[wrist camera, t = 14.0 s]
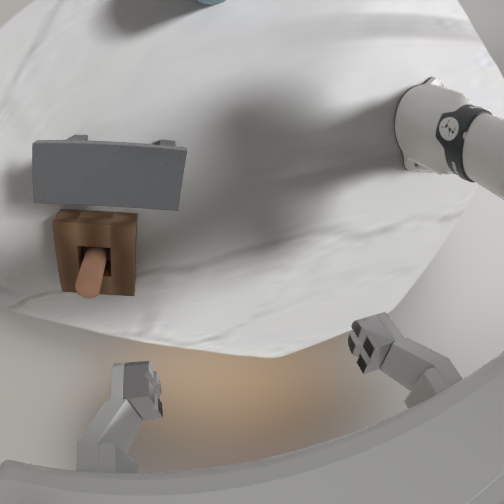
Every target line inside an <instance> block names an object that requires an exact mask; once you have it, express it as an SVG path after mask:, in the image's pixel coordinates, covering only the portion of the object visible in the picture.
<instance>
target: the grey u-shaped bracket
mask: <svg viewBox="0 0 504 504" xmlns="http://www.w3.org/2000/svg"><path fill="white" fill-rule="evenodd" d="M87 139H88V135H74V136H72V137H71V138H69V139H68V140H37V141H36V142H34V143H33V147H32V164H33V191H34V203H54V204H77V205H97V206H115V207H131V208H146V209H160V210H174V211H178V206H179V199H180V192H181V185H182V178H183V172H184V166H185V160H186V154H187V148H184V147H176V146H175V141H168V140H160V144H159V145H153V144H141V143H126V142H108V141H87Z"/></svg>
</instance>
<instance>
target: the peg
mask: <svg viewBox="0 0 504 504" xmlns="http://www.w3.org/2000/svg"><path fill="white" fill-rule="evenodd" d="M108 252H109V248H106V247H89V246H88V247H87V250H86V253H85V256H84V259H83V262H82V265H81V268H80V271H79V274H78V277H77V280H76V284H75V288H76V291H77V292H78V293H79V294H80V295H81V296H83V297H85V298H94V297H96V296H97V295H98V294H99V292H100V287H101V282H102V278H103V273H104V269H105V264H106V260H107V256H108Z"/></svg>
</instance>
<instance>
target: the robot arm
mask: <svg viewBox="0 0 504 504" xmlns="http://www.w3.org/2000/svg"><path fill="white" fill-rule="evenodd" d="M395 133H396V138H397V142H398V144H399V146H400V148H401V150H402V152H403V156H404V165H405V168H406V169H408V170H411V171H423V172H435V173H437V174H440V175H441V174H442V173H443V174H456V175H458V176H459V177H460V178H462V179H464V180H467V181H469V182H476V183H478V184H479V185H481V186H483V187H484V188H486V189H488V190H489V191H491V192H492V193H494V194H495V195H497V196H498V197H500V198H501V199H503V200H504V119H501V118H498V117H496V116H493V115H492V114H491V113H490V112H489V111H487V110H485V109H483V108H481V107H478V106H474V105H471V103H470V102H469V99H467V98H466V96H465V95H464V94H462V93H459V92H456V91H453V90H450V89H448V88H447V87H446V86H445V85H444V84H443V83H442V82H441V81H440V80H439V79H438V78H435V77H432V78H430V79H429V80H428V81H427V82H426V83H425V84H422V85H418V86H415V87H413V88H411V89H410V90H409V91H408V92H407V93H406V94H405V95H404V96H403V98H402V99H401V101H400V103H399V106H398V109H397V112H396V117H395ZM351 327H352V329H353V331H352V332H351V333H350V334H349V337H348V345H349V348H350V351H351V353H352V354H353V355H355V356H356V357H358V359H357V364H358V365H359V367H360V369H361V371H362V373H363V374H365V373H368V372H371V371H374V370H377V369H380V370H381V371H383V372H384V373H385V374H387V375H388V376H390V377H391V378H393V379H394V380H395V381H397V382H398V383H400V384H401V385H403V386H404V387H406V388H407V389H408V390H410V391H411V392H410V393H409V395H408V396H407V397H406V399H405V403H406V405H407V407H408V409H407V410H405V411H403V412H401V413H399V414H396V415H394V416H392V417H390V418H387V419H385V420H383V421H380V422H378V423H376V424H373V425H371V426H368V427H366V428H363V429H361V430H358V431H355V432H353V433H350V434H347V435H345V436H342V437H339V438H336V439H333V440H330V441H327V442H324V443H321V444H318V445H314V446H311V447H308V448H304V449H301V450H297V451H293V452H290V453H286V454H282V455H278V456H273V457H270V458H265V459H260V460H255V461H250V462H245V463H240V464H234V465H228V466H222V467H215V468H207V469H199V470H189V471H179V472H165V473H139V470H138V464H137V463H136V462H135V461H134V460H132V459H131V458H129V457H128V456H127V455H126V454H127V452H128V450H129V448H130V446H131V444H132V442H133V440H134V438H135V436H136V434H137V432H138V430H139V428H140V426H141V424H142V422H143V420H145V419H155V418H163V410H162V402H161V401H160V399H159V397H160V395H161V385H160V380H159V376H158V374H157V372H156V371H154V370H153V364H152V362H151V361H143V362H130V363H117V364H113V367H112V374H111V389H110V400H106V401H105V403H104V404H103V406H102V407H101V408H100V410H99V411H98V413H97V414H96V416H95V417H94V418H93V420H92V421H91V422H90V424H89V425H88V427H87V428H86V430H85V431H84V432H83V434H82V435H81V437H80V438H79V440H78V441H77V469H76V471H73V470H64V469H56V468H49V467H43V466H36V465H31V464H26V463H21V462H17V461H11V460H6V461H4V462H3V463H2V464H1V465H0V504H504V352H502V353H501V354H499V355H498V356H497V357H495V358H494V359H492V360H491V361H490V362H488V363H487V364H485V365H484V366H482V367H481V368H479V369H478V370H476V371H475V372H473V373H472V374H470V375H468V376H467V377H465V378H464V379H462V377H461V376H460V374H459V373H458V371H457V370H456V368H455V367H454V365H453V364H452V363H451V361H450V360H449V359H448V358H447V357H445V356H443V355H441V354H439V353H437V352H435V351H433V350H431V349H429V348H427V347H425V346H423V345H421V344H419V343H417V342H415V341H413V340H411V339H409V338H404V336H403V335H402V333H401V332H400V330H399V329H398V328H397V326H396V325H395V323H394V322H393V321H392V319H391V318H390V316H389V315H388V314H387V313H385V312H383V313H380V314H377V315H372V316H369V317H366V318H362V319H359V320H356V321H354V322H353V323H352V326H351Z"/></svg>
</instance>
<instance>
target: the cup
mask: <svg viewBox="0 0 504 504" xmlns="http://www.w3.org/2000/svg"><path fill="white" fill-rule="evenodd" d="M196 1H198V2H200V3H202V4H208V5H215V4H219V3H222V2H224V1H226V0H196Z"/></svg>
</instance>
